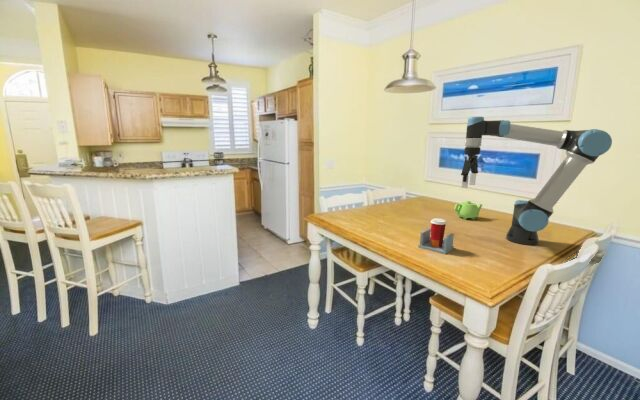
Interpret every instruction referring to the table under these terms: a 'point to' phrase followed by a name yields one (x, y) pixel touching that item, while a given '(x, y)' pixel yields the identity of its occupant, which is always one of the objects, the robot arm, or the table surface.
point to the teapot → (467, 210)
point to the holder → (426, 244)
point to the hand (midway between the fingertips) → (468, 186)
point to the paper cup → (437, 232)
